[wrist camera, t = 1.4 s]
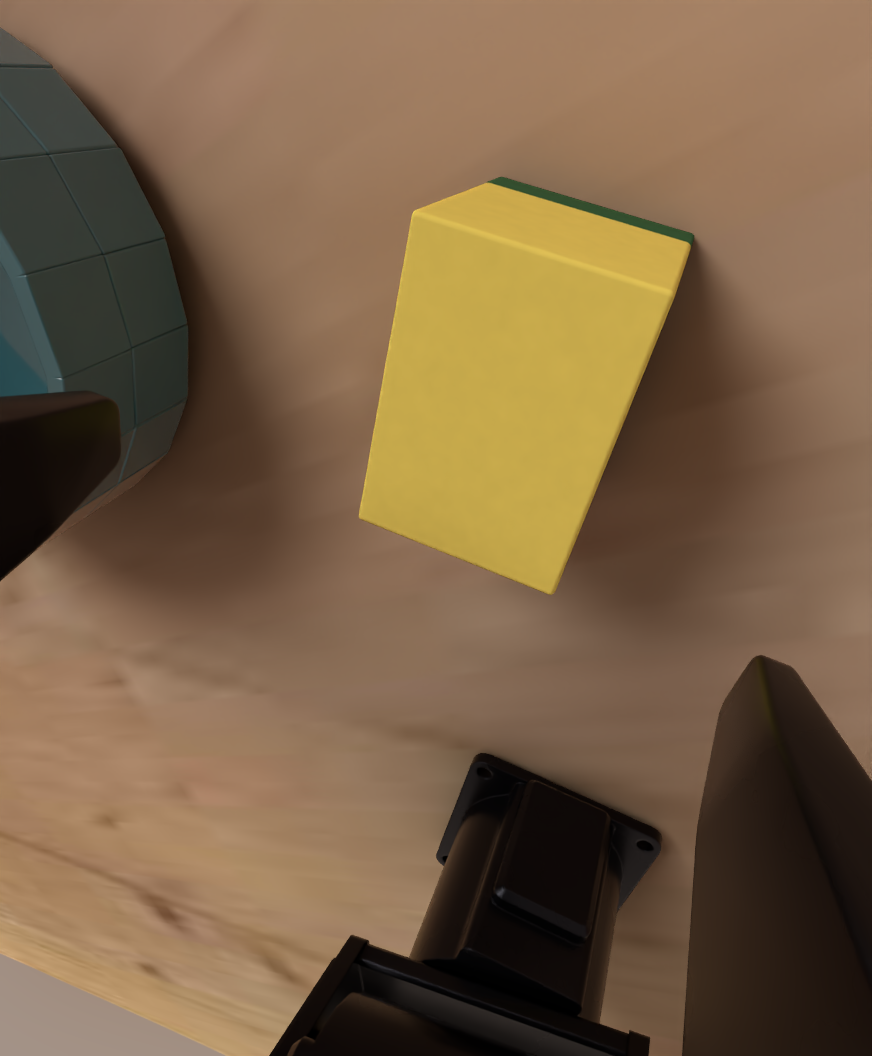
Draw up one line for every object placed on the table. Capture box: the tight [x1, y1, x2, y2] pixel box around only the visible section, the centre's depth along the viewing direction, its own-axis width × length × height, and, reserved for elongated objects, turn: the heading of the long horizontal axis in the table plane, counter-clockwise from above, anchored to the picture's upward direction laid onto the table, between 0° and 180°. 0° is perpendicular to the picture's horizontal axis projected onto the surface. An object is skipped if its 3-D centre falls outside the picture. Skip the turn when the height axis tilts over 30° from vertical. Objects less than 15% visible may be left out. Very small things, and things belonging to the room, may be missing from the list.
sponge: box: [359, 177, 694, 595], centre depth 14 cm, size 6×4×5 cm
